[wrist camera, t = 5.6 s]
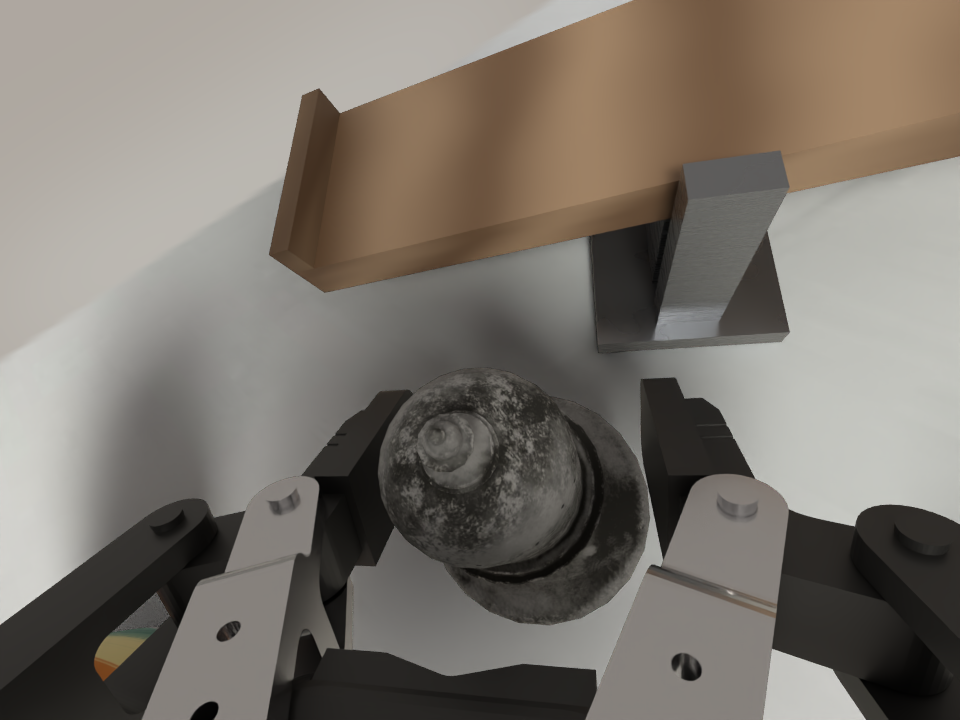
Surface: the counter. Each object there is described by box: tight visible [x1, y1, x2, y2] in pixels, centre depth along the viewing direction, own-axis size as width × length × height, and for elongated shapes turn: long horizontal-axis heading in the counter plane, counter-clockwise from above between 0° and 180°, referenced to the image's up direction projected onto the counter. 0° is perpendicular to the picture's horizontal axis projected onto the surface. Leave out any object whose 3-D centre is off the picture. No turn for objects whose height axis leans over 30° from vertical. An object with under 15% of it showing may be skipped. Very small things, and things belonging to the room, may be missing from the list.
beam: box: [269, 0, 960, 293], centre depth 13 cm, size 26×7×3 cm, turn 89°
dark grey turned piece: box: [378, 368, 650, 625], centre depth 11 cm, size 6×6×12 cm
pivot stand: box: [590, 150, 790, 353], centre depth 15 cm, size 6×11×7 cm, turn 179°
